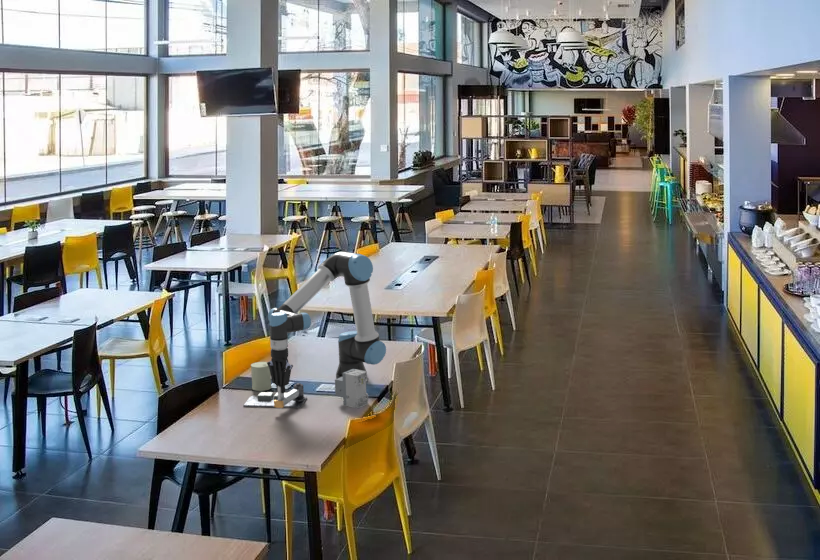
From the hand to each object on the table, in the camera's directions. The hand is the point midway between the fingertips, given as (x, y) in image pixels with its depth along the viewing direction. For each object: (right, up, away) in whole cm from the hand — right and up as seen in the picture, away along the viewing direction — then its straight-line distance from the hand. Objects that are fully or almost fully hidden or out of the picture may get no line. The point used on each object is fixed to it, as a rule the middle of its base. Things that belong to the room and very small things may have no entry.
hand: (281, 399), depth 413 cm
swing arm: (+3, -2, +4) cm, 6 cm away
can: (-13, +1, +31) cm, 34 cm away
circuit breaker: (+30, -3, +7) cm, 31 cm away
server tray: (-4, -3, +10) cm, 11 cm away
